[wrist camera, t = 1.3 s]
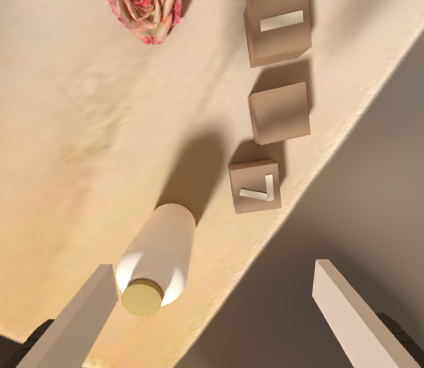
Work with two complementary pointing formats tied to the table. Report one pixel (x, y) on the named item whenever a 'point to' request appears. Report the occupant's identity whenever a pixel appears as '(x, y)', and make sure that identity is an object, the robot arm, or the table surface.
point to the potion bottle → (157, 261)
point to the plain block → (279, 113)
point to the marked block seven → (255, 185)
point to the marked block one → (276, 30)
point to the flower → (148, 17)
